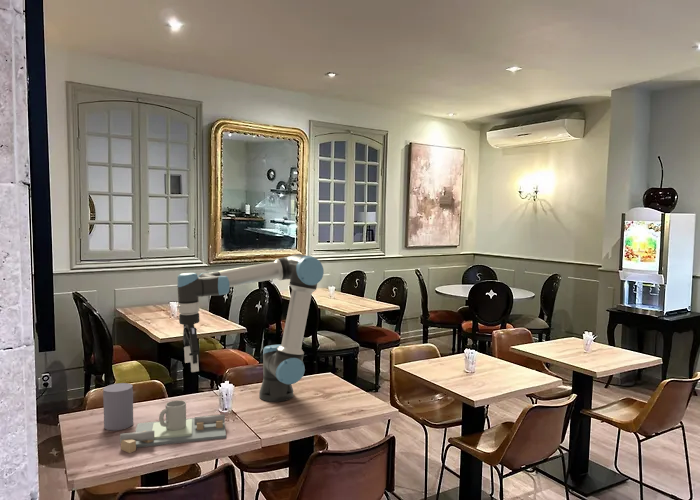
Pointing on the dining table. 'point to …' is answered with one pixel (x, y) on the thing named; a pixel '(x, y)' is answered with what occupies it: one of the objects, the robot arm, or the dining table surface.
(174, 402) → the cup
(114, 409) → the container
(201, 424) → the shaft rig
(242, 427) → the dining table surface
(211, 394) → the dining table surface
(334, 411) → the dining table surface
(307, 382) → the dining table surface
